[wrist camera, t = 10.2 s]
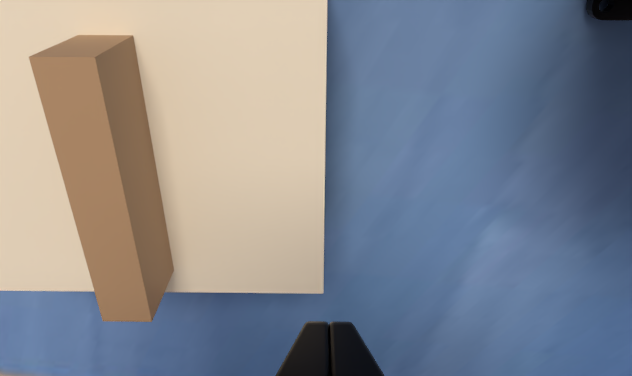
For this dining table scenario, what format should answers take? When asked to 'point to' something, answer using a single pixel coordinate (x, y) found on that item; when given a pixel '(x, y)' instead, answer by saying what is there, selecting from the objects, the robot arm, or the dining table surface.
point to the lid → (162, 148)
